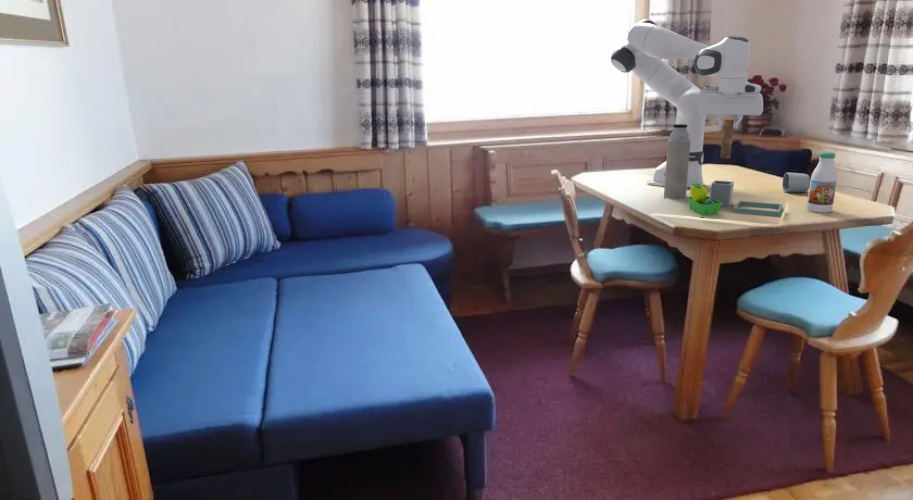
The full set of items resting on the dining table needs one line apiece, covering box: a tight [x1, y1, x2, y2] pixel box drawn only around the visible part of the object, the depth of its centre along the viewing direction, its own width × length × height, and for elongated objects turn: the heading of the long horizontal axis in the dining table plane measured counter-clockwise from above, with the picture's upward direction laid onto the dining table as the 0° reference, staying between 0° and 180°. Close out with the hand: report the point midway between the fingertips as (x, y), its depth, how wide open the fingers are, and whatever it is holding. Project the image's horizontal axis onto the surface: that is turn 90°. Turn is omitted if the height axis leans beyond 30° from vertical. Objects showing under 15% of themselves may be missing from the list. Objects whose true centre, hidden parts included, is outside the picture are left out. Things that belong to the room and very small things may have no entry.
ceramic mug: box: [781, 172, 811, 193], centre depth 245 cm, size 11×8×8 cm
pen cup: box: [709, 179, 735, 208], centre depth 223 cm, size 6×6×9 cm
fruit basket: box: [687, 183, 722, 219], centre depth 215 cm, size 11×9×11 cm
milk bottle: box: [806, 151, 838, 214], centre depth 214 cm, size 8×8×20 cm
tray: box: [732, 200, 784, 217], centre depth 215 cm, size 14×12×2 cm
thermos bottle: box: [663, 123, 691, 200], centre depth 235 cm, size 8×8×28 cm
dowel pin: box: [719, 118, 735, 159], centre depth 218 cm, size 3×3×13 cm
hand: (728, 128), depth 216 cm, fingers closed on dowel pin, 3 cm apart
